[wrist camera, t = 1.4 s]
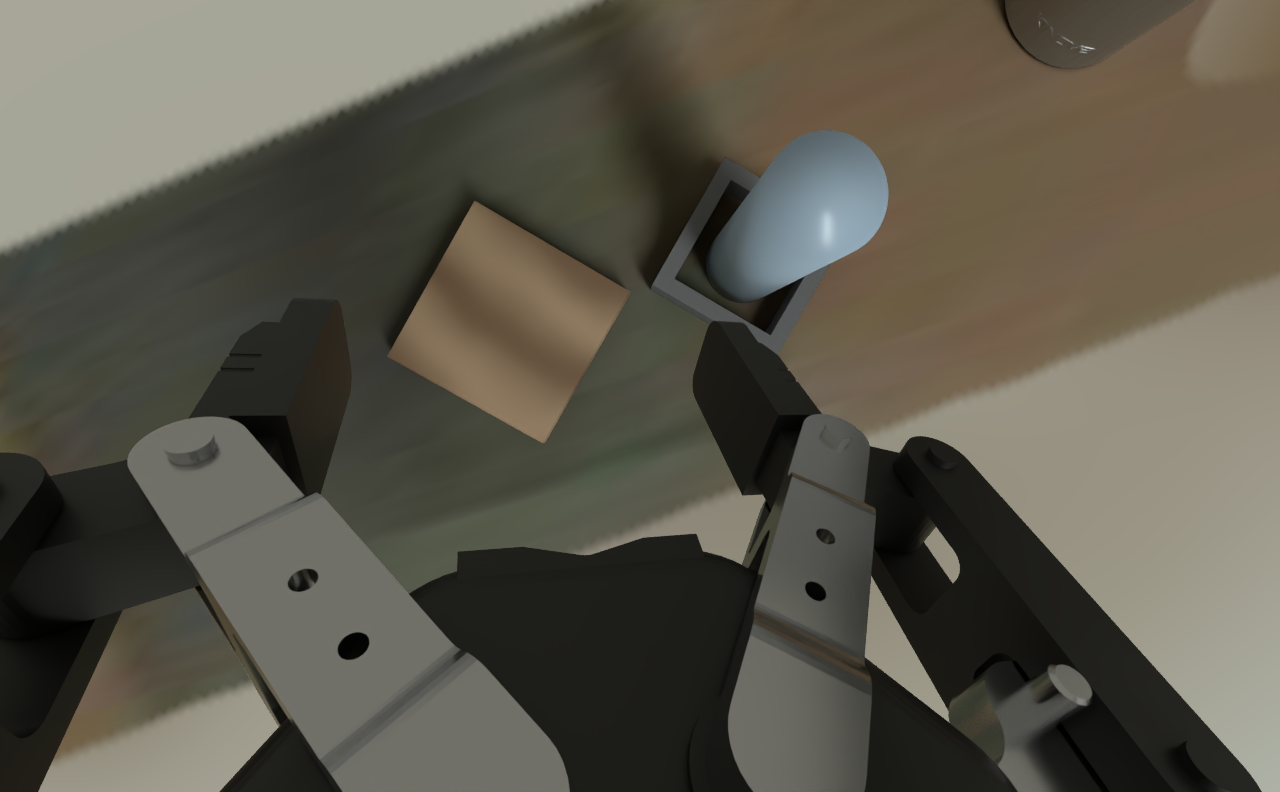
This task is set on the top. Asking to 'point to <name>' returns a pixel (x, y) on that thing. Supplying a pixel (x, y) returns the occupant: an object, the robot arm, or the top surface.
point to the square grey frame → (665, 285)
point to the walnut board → (509, 323)
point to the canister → (800, 216)
